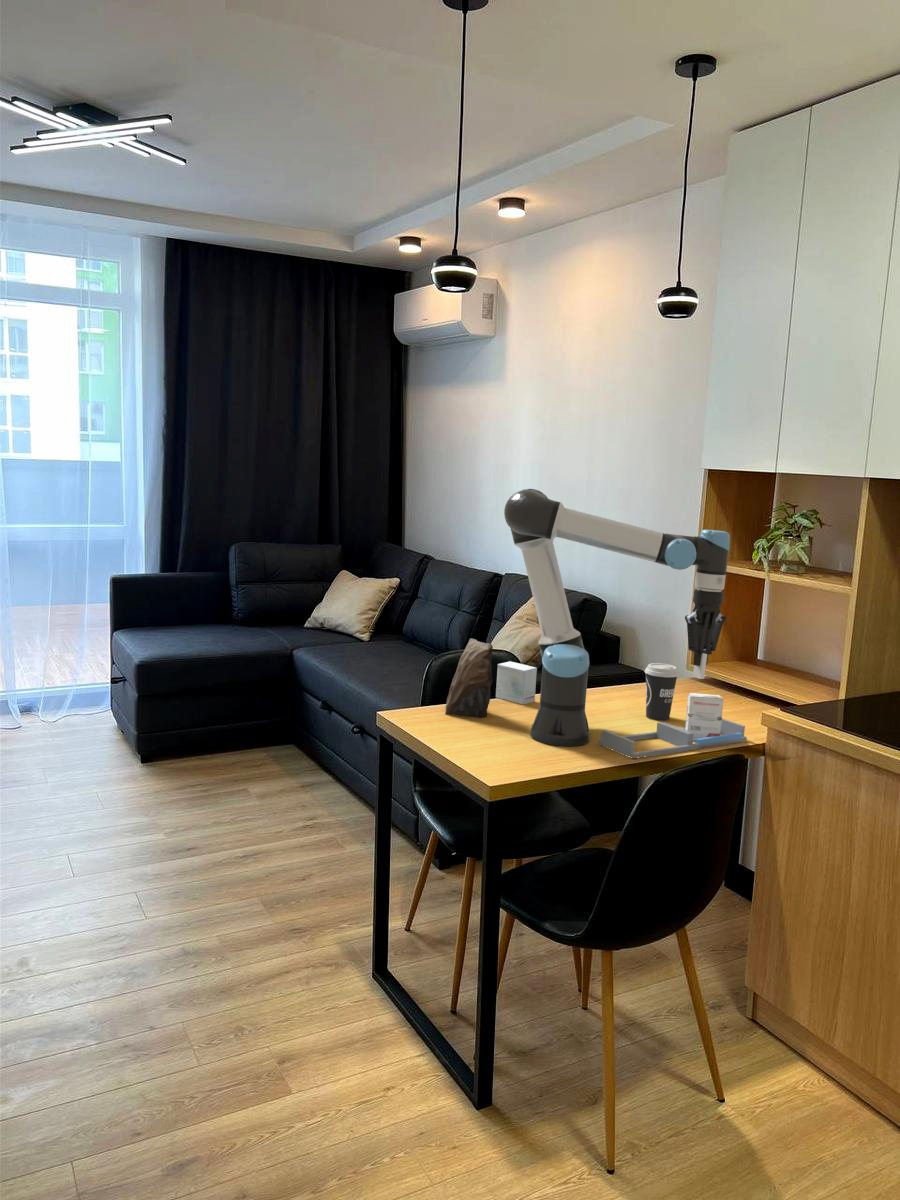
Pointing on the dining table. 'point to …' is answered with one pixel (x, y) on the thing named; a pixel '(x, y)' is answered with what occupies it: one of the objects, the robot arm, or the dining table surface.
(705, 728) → the ink box
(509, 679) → the skincare box
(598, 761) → the dining table surface
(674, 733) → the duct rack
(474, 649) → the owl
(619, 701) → the dining table surface
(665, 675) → the coffee cup
